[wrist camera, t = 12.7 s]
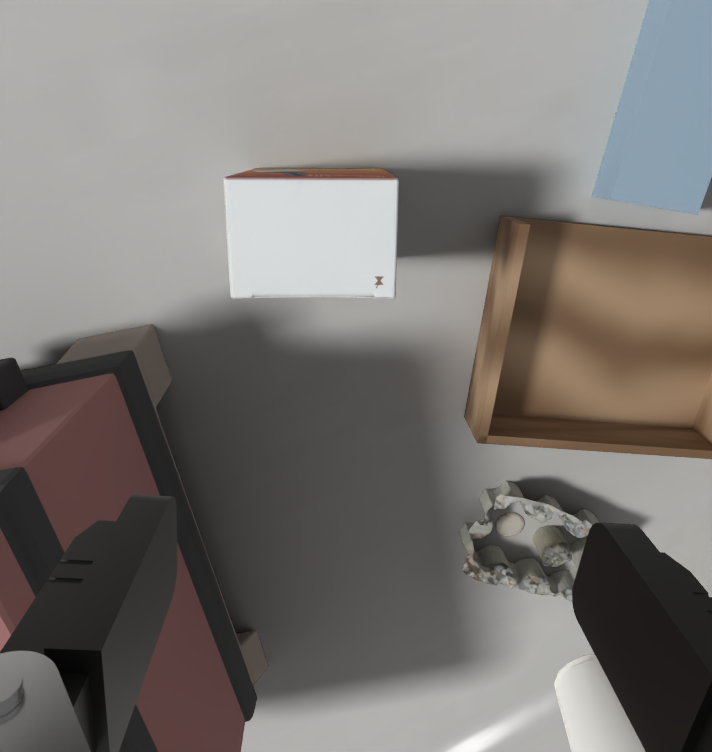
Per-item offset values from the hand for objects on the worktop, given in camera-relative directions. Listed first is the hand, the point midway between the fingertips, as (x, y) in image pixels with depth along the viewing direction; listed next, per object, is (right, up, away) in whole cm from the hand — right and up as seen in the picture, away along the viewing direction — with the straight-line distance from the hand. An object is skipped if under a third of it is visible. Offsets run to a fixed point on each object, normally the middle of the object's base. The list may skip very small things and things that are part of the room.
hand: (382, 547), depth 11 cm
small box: (-3, +13, +25) cm, 29 cm away
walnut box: (+16, +6, +29) cm, 34 cm away
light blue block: (+18, +20, +24) cm, 36 cm away
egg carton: (+13, -9, +35) cm, 38 cm away
